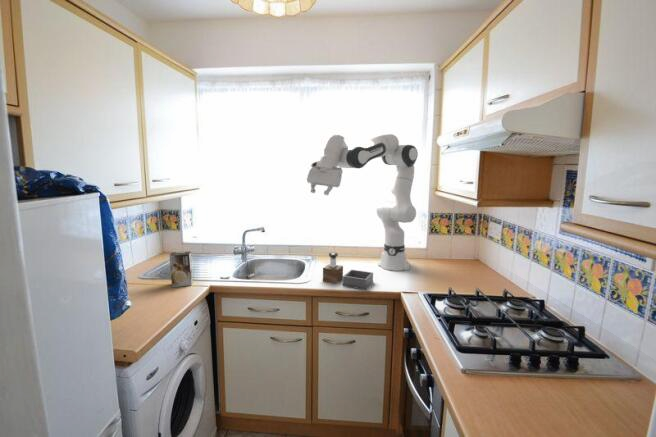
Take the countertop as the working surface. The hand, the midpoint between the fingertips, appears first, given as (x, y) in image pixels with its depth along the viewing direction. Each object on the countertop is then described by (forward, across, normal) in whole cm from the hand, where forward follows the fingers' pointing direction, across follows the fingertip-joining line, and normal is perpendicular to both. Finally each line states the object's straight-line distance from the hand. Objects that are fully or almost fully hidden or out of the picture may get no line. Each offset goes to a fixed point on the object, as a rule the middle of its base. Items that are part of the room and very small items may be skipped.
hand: (319, 193), depth 150 cm
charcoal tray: (+36, -15, -31) cm, 50 cm away
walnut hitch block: (+39, -2, -27) cm, 47 cm away
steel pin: (+39, -2, -27) cm, 47 cm away
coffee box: (+63, +45, +28) cm, 82 cm away
